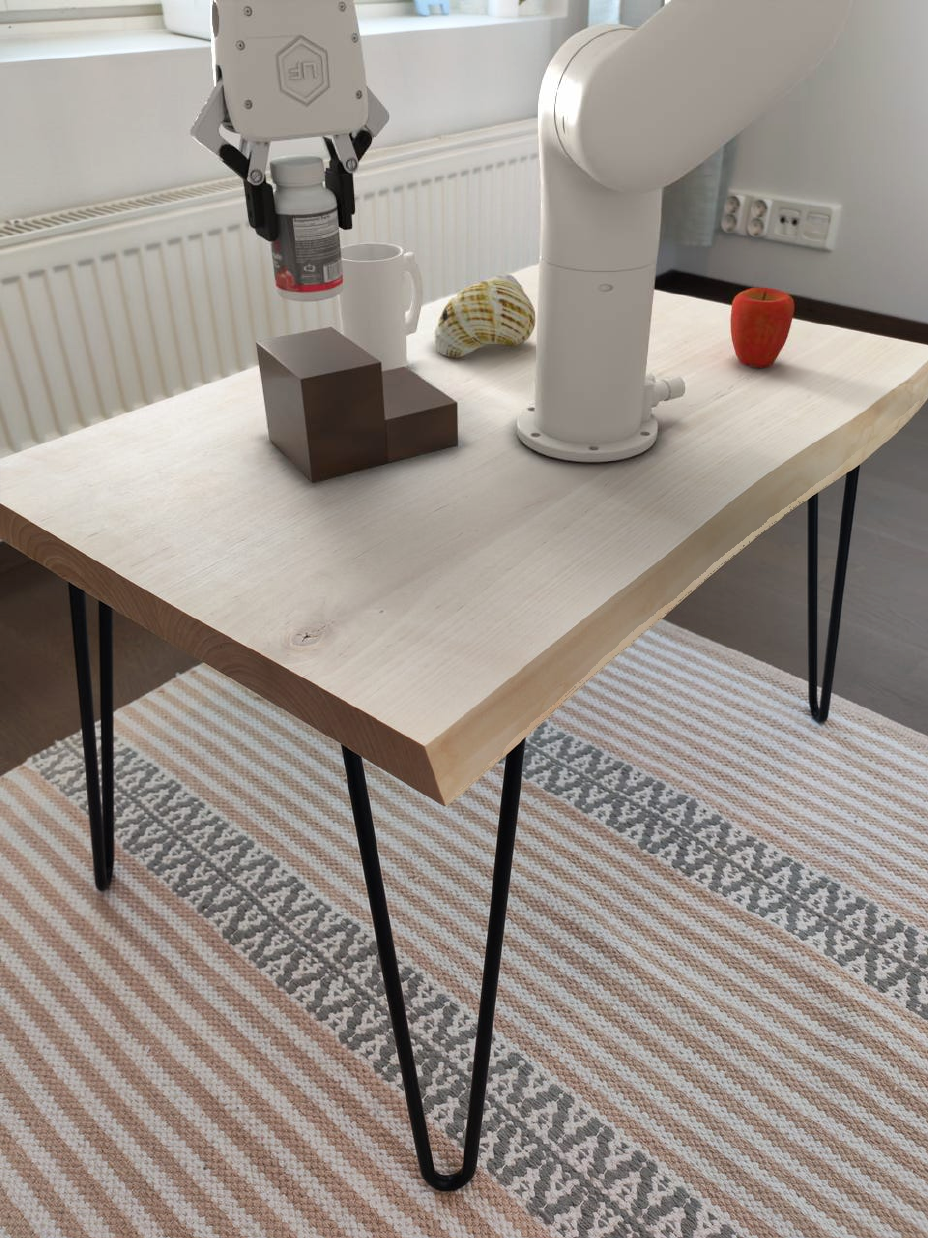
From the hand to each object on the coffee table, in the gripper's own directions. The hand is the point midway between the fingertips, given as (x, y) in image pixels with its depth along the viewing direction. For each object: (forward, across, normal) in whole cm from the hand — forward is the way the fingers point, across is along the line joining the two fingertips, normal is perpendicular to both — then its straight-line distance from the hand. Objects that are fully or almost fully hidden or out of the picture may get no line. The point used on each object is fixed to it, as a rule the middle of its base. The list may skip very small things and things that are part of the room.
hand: (304, 228), depth 75 cm
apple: (+19, +46, -4) cm, 50 cm away
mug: (+19, +14, +15) cm, 28 cm away
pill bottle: (+5, 0, 0) cm, 5 cm away
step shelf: (+19, +4, 0) cm, 19 cm away
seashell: (+19, +26, +15) cm, 35 cm away
